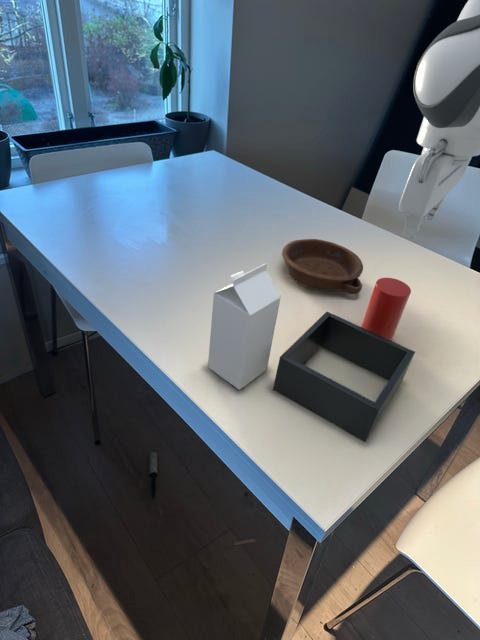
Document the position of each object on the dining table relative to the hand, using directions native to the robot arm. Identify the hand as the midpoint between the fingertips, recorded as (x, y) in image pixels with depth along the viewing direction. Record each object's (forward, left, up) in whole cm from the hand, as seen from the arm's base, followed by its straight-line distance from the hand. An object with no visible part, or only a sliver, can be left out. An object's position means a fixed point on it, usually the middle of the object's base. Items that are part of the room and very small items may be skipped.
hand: (419, 226), depth 70 cm
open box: (0, +16, -24) cm, 28 cm away
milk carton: (+15, +24, -24) cm, 37 cm away
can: (+1, 0, -24) cm, 24 cm away
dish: (+19, -13, -24) cm, 33 cm away
